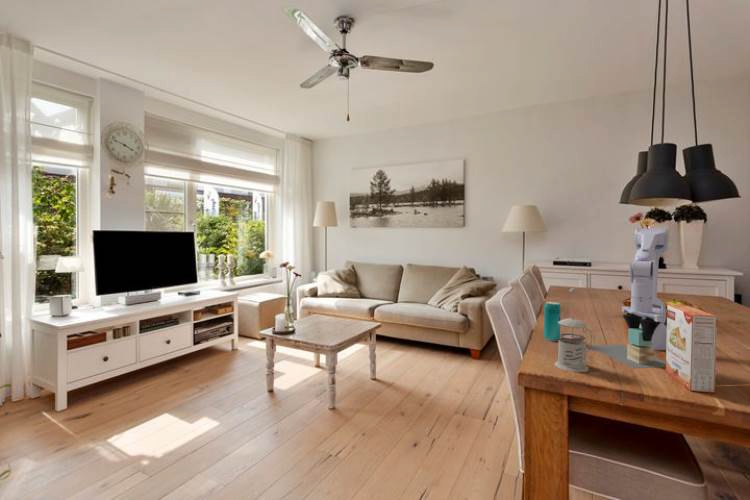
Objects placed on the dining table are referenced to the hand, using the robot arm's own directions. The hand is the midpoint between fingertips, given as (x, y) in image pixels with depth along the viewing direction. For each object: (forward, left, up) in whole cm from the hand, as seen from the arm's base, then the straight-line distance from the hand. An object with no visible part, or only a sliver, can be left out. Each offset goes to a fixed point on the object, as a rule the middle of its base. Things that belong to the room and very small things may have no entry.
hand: (640, 338), depth 120 cm
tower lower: (0, 0, -7) cm, 7 cm away
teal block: (0, 0, -2) cm, 2 cm away
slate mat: (0, -5, -8) cm, 9 cm away
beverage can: (+15, -26, -8) cm, 31 cm away
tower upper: (0, 0, -5) cm, 5 cm away
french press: (+24, +2, -8) cm, 25 cm away
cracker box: (0, +17, -8) cm, 19 cm away
